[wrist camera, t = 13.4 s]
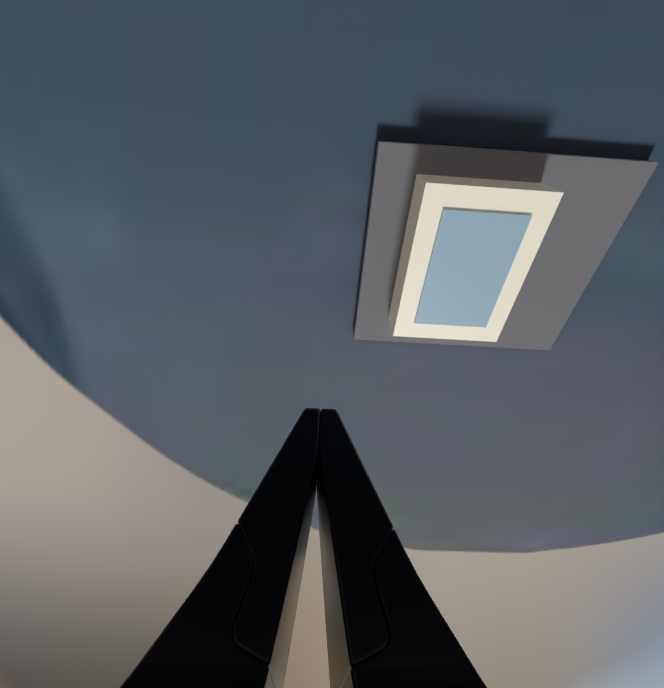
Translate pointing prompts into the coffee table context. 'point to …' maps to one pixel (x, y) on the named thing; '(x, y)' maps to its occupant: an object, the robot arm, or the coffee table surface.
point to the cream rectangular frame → (467, 255)
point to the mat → (555, 249)
